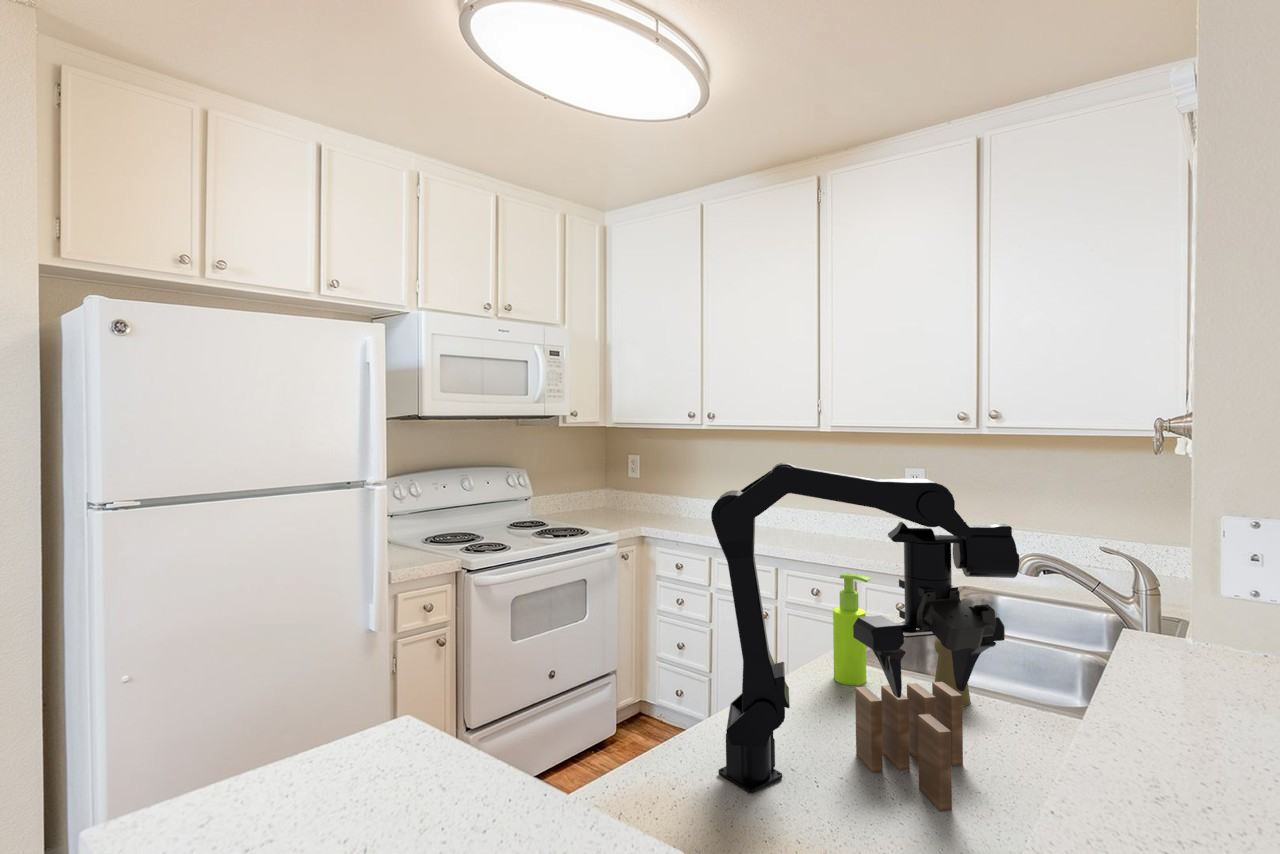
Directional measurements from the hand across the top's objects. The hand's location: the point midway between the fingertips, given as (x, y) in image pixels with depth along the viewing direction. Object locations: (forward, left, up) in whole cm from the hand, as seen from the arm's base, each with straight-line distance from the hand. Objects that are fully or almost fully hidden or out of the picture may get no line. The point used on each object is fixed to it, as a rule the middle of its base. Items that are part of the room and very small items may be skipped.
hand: (929, 693), depth 88 cm
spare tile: (-1, -1, -13) cm, 13 cm away
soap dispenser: (+24, +30, -13) cm, 40 cm away
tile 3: (+7, +6, -13) cm, 16 cm away
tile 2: (+4, +8, -13) cm, 16 cm away
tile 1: (0, +10, -13) cm, 16 cm away
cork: (+30, +14, -13) cm, 36 cm away
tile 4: (+11, +4, -13) cm, 17 cm away
